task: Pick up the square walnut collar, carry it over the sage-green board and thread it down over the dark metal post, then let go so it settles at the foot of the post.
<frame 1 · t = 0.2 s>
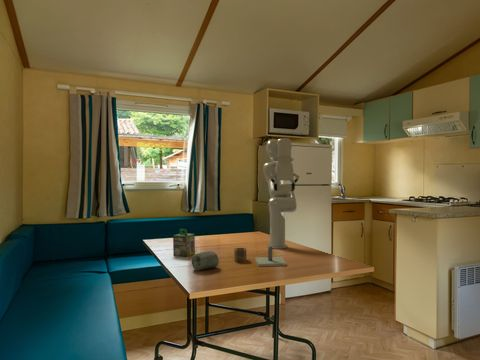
hand: (284, 190, 192), 36 cm above the table, fingers open, 9 cm apart
collar: (240, 260, 181), on the table
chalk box: (184, 255, 195), on the table
post board: (270, 262, 176), on the table
grey green cylinder: (205, 269, 164), on the table
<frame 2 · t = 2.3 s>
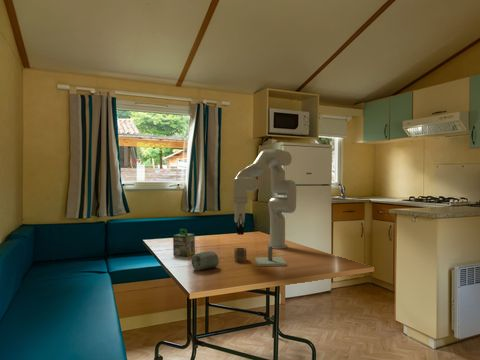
hand: (239, 233, 180), 14 cm above the table, fingers open, 9 cm apart
nothing on the table moved.
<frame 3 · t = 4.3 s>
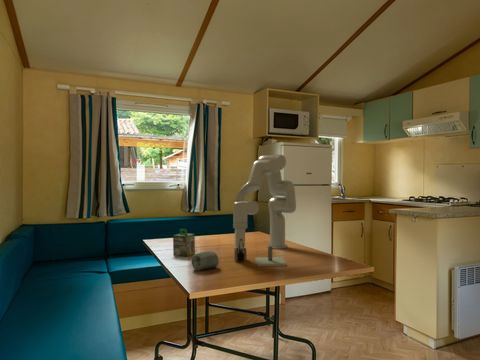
hand: (240, 258, 181), 1 cm above the table, fingers closed on collar, 6 cm apart
collar: (240, 260, 181), on the table, touching gripper
everything else where it was.
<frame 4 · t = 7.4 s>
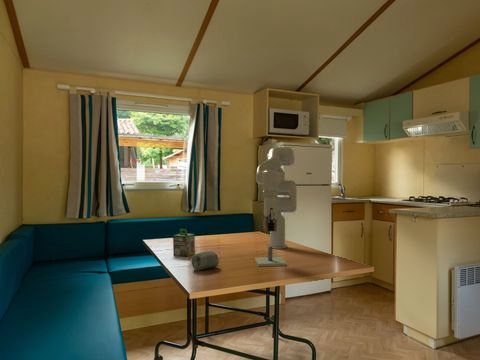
hand: (270, 229, 176), 17 cm above the table, fingers closed on collar, 6 cm apart
collar: (269, 230, 176), point 16 cm above the table, touching gripper
everything else where it was.
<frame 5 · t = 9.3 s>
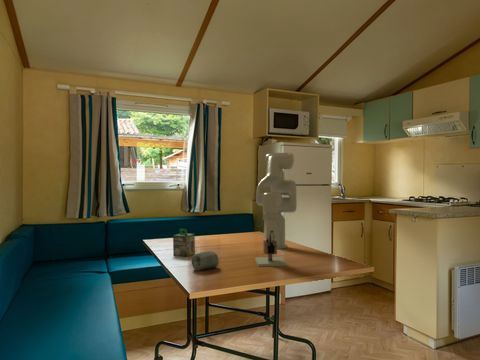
hand: (270, 251, 176), 6 cm above the table, fingers closed on collar, 6 cm apart
collar: (270, 252, 176), point 5 cm above the table, touching gripper
everything else where it was.
when the fingers open (4 cm above the table, at t = 10.6 s): collar drops 2 cm, resting on post board.
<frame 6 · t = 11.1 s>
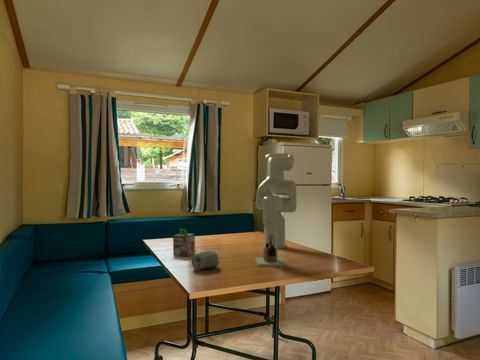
hand: (270, 253, 176), 4 cm above the table, fingers open, 9 cm apart
collar: (270, 260, 176), point 1 cm above the table, touching post board
everything else where it was.
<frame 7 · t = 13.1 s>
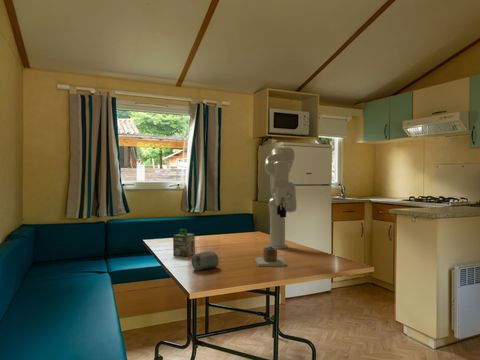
hand: (281, 216, 184), 23 cm above the table, fingers open, 9 cm apart
nothing on the table moved.
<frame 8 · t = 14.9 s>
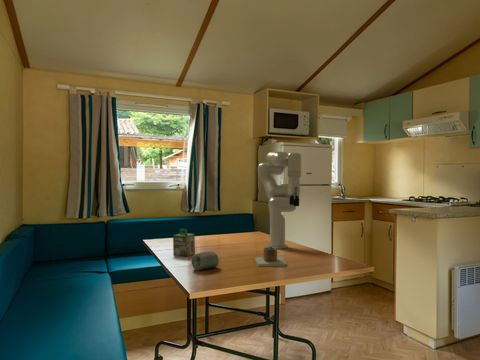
hand: (294, 205, 192), 28 cm above the table, fingers open, 9 cm apart
nothing on the table moved.
at the end: collar 0.1 cm off-centre on the post board, point 1.2 cm above the post board's base; the gripper is holding nothing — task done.
